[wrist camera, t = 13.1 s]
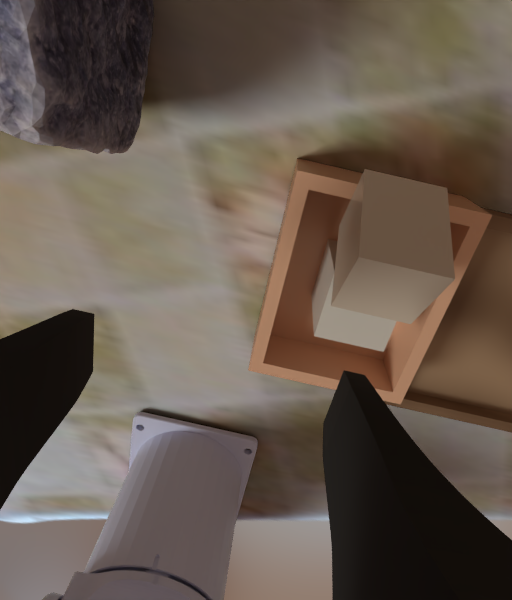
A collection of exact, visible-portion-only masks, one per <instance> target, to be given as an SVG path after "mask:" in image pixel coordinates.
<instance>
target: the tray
mask: <svg viewBox="0 0 512 600" xmlns="http://www.w3.org/2000/svg"><path fill="white" fill-rule="evenodd" d="M480 208H481V207H480ZM482 209H484V210H485V211H487V212H488V213H490V214H491V215H492V217H491V219H490V221H489V223H488V225H487V228H486V230H485V232H484V234H483V236H482V238H481V240H480V242H479V244H478V246H477V248H476V250H475V252H474V254H473V256H472V258H471V260H470V263H469V265H468V267H467V269H466V271H465V273H464V275H463V277H462V279H461V281H460V283H459V285H458V287H457V289H456V291H455V293H454V295H453V298H452V300H451V302H450V304H449V306H448V308H447V310H446V312H445V314H444V316H443V318H442V320H441V322H440V324H439V326H438V328H437V330H436V333H435V335H434V337H433V339H432V341H431V343H430V345H429V347H428V349H427V351H426V353H425V355H424V357H423V359H422V361H421V363H420V366H419V368H418V370H417V372H416V374H415V376H414V378H413V380H412V382H411V384H410V386H409V388H408V390H407V392H406V394H405V396H404V398H403V401H402V403H401V405H400V404H396V403H392V402H387V401H384V402H385V404H388V405H392V406H397V407H401V408H406V409H410V410H415V411H419V412H424V413H428V414H432V415H437V416H441V417H446V418H450V419H455V420H459V421H464V422H468V423H473V424H477V425H481V426H486V427H490V428H495V429H499V430H504V431H508V432H512V215H511V214H507V213H502V212H498V211H494V210H489V209H485V208H482Z"/></svg>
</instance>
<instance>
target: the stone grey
mask: <svg viewBox="0 0 512 600" xmlns="http://www.w3.org/2000/svg"><path fill="white" fill-rule="evenodd" d="M337 243H338V241H335V240H330V239H328V241H327V244H326V247H325V251H324V254H323V257H322V261H321V264H320V267H319V271H318V274H317V277H316V281H315V284H314V287H313V291H312V294H311V296H312V312H313V329H314V336H315V337H320V338H324V339H328V340H333V341H337V342H342V343H346V344H351V345H355V346H360V347H364V348H369V349H373V350H377V351H382V352H384V350H385V348H386V345H387V343H388V340H389V338H390V336H391V333H392V331H393V329H394V326H395V324H396V322H397V321H394V320H390V319H386V318H381V317H377V316H372V315H368V314H364V313H359V312H355V311H350V310H346V309H342V308H337V307H333V306H331V300H332V291H333V281H334V272H335V262H336V253H337Z"/></svg>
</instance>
